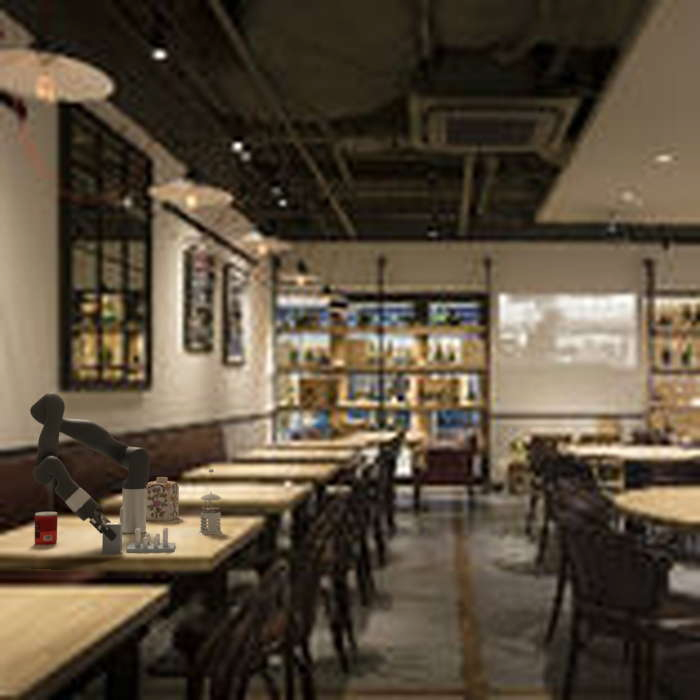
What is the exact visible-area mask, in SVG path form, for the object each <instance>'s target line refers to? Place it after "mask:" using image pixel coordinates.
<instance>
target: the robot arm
mask: <svg viewBox="0 0 700 700" xmlns="http://www.w3.org/2000/svg"><path fill="white" fill-rule="evenodd" d="M64 401H65V400H64V399H63V397H61V396H60V395H59V394H58V393H56V392H53V391H52V392H48V393H45V394H44V395H43V396H42V397H41V398H39V399H38V400H37V401H36V402H35V403H34V404H33V405H31V407H30V409H29V411H30V415H31V417H32V418H33V419H34V420H35V421H36V422H38V423H39V424H41V425H43V427H42V429H41V432H40V434H39V437H38V440H37V441H38V442H37V457H36V459H35V463H34V466H33V469H32V470H33V472H32V474H33V478H34V481H35V482H36V483H38V484H39V485H42V486H46V485H49V484H51V483H52V482H54V480H56V481H57V485H56V486H55V488H54V492H55V494H56V495H57V496H58V497H59V498H61V500H62V501H63V502H64V503H65V504H66V505H67V507H68V508H69V509H70V510H71V511H72V512H73V513H74V514H75V515H76V516H77V517H78V518H79V519H80V520H81V521H83V522H85V521H86V520H87V519H88V518H89V521H88V522H89V523H90V524H91V525H92V526H93V527H94V528H95V530H97V531H98V533H99V534H102V535H103V534H104V535H105V536H106V537H107V538H108V539H109V540H110V541H113V540H114V539H115V538H116V536H115V535H114V534H113V533H112V532H111V531H110V530H108V527H107V526H106V523H112V522H111V520H109V518H107V517H106V516H105V514H103V513H102V512H101V511H97V509H99V507H100V504H99V503H98V502H97V501H96V500H95V499H93V497H92V496H91V495H90V494H89V493H88V492H86V490H84V489H83V488H82V487H81V486H79V484H78V483H76V482H75V480H73V478H72V477H71V474H70V473H69V472H68V470H67V467H66V466H65V464H64V463H63V462H62V461H61V459H59V458H58V457H59V454H60V433H61V434H63V435H64V436H66V437H69V438H71V439H73V440H75V441H77V442H78V443H80V444H81V445H83V446H85V447H87V448H88V449H91V450H92V451H94V452H97V453H99V454H101V455H104V456H106V457H108V458H109V459H110V460H112V461H113V462H115V463H116V464H117V465H119V466H120V467H121V468H123V469H125V470H127V472H128V473H127V477H126V479H125V480H123V481H122V499H121V501H122V503H121V504H122V505H121V507H120V508H119V523H122V532H123V533H122V534H128V533H131V534H132V533H133V534H134V533H135V529H136V528H141V534H142V533H146V532H147V520H146V490H147V484H148V483H149V477H150V466H151V465H150V463H151V461H150V455H149V452H148V451H147V449H146V448H143V447H138V446H137V447H136V446H129V445H127V444H124V443H122V442H121V441H118V440H117V439H115V438H114V437H113V436H112V435H111V433H110V432H109V431H108V430H107V429H106V428H104V427H102V426H101V425H100V424H98V423H96V422H94V421H93V420H89V419H77V418H76V419H75V418H67V417H64V414H65V409H66V404H65V402H64ZM134 535H135V534H134Z"/></svg>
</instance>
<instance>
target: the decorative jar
mask: <svg viewBox="0 0 700 700" xmlns="http://www.w3.org/2000/svg"><path fill="white" fill-rule="evenodd" d="M179 492H180V487H179V485H178V484H177V482H176V481H172V480H171V481H170V480H168V477H165V476H158V477H156V480H154V481H153V480H152V481H150V482H149V481H148V482H147V490H146V522H149V521H150V522H170V521H173V520H176V519H178V518H179V515H180V513H179V510H180V509H179V507H180V501H179V500H180V493H179Z"/></svg>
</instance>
